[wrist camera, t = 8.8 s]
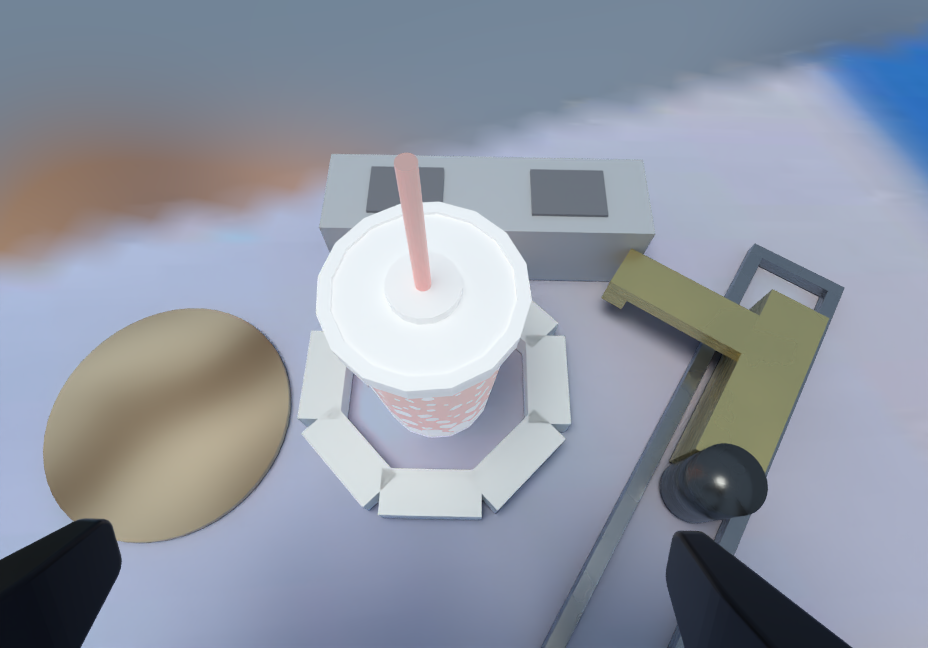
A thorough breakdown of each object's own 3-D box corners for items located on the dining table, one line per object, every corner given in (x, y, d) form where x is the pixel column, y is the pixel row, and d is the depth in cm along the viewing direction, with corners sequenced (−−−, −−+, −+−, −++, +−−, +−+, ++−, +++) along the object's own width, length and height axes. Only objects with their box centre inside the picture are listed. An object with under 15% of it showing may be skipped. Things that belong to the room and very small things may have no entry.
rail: (836, 293, 25) (844, 287, 24) (624, 797, 17) (630, 805, 16) (748, 250, 26) (754, 243, 25) (510, 705, 18) (512, 709, 17)
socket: (658, 523, 20) (703, 515, 16) (293, 515, 20) (255, 505, 16) (618, 214, 26) (644, 157, 23) (339, 209, 27) (319, 151, 23)
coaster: (338, 386, 22) (336, 384, 22) (164, 599, 19) (158, 600, 19) (180, 276, 25) (176, 272, 24) (-1, 447, 21) (-9, 445, 21)
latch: (791, 342, 23) (842, 309, 20) (706, 536, 20) (752, 531, 17) (629, 256, 25) (652, 213, 22) (525, 418, 22) (536, 395, 19)
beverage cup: (535, 397, 22) (631, 184, 10) (422, 487, 21) (359, 372, 8) (450, 300, 24) (438, 17, 12) (341, 374, 23) (189, 140, 10)
